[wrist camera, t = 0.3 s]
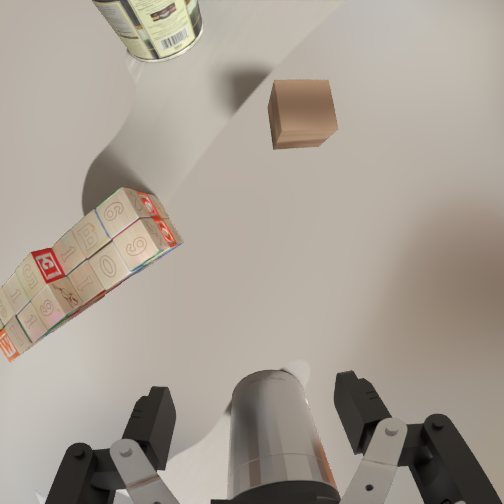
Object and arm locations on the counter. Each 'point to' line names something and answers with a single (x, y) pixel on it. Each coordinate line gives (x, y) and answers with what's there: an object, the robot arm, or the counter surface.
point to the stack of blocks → (83, 267)
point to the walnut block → (301, 113)
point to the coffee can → (154, 26)
